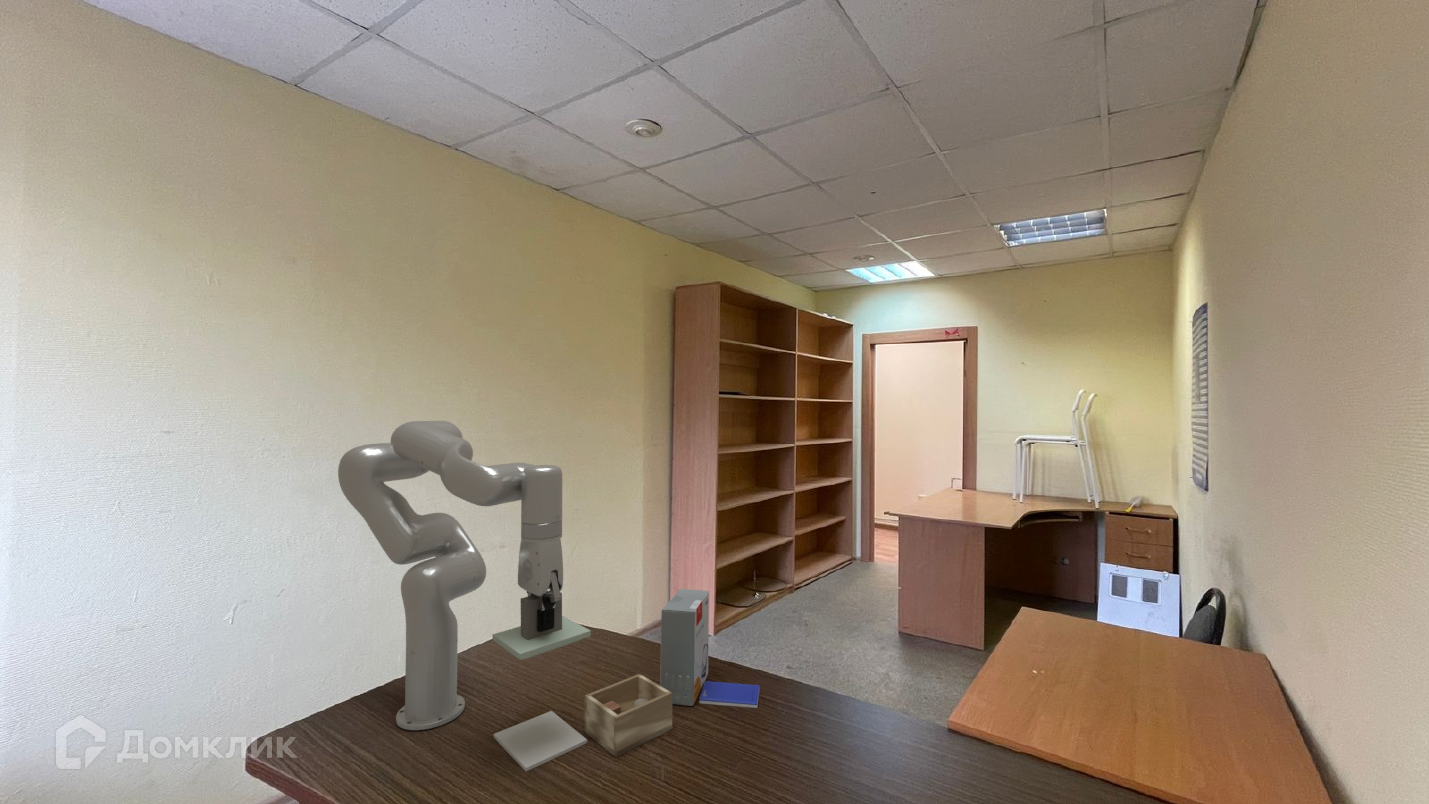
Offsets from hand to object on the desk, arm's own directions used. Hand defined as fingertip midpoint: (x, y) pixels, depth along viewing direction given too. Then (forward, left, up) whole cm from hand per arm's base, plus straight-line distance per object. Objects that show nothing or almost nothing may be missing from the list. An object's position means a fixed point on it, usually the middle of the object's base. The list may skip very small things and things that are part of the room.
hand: (541, 626), depth 104 cm
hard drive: (+13, +38, -22) cm, 46 cm away
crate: (+9, +14, -21) cm, 27 cm away
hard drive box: (+4, +33, -22) cm, 40 cm away
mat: (0, 0, -21) cm, 21 cm away
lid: (0, 0, -3) cm, 3 cm away
